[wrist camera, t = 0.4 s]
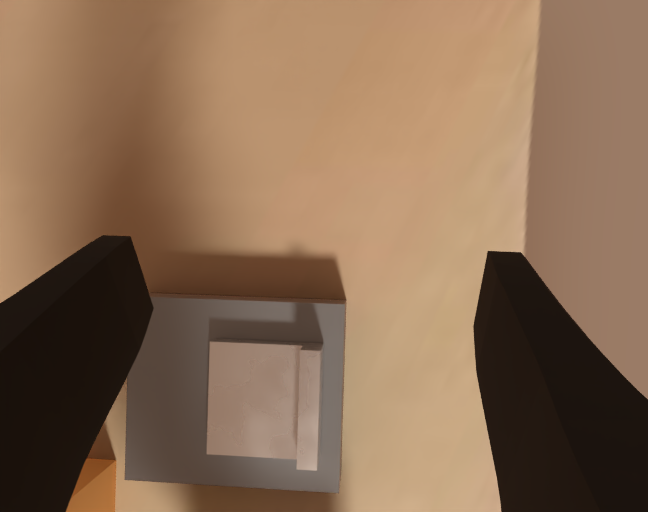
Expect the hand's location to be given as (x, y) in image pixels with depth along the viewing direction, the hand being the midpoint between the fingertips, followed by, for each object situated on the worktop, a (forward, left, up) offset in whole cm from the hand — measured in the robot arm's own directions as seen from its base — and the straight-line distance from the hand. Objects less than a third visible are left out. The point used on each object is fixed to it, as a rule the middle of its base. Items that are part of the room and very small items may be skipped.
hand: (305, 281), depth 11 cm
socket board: (-9, +7, -26) cm, 28 cm away
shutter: (-9, +5, -23) cm, 25 cm away
